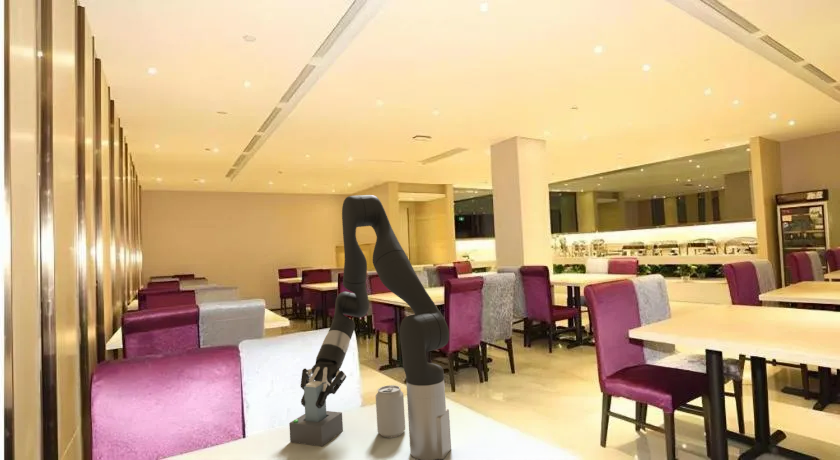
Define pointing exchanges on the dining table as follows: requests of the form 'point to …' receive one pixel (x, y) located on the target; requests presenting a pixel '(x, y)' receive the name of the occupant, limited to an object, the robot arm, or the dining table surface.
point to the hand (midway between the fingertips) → (311, 406)
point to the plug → (313, 402)
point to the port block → (316, 429)
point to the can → (390, 411)
